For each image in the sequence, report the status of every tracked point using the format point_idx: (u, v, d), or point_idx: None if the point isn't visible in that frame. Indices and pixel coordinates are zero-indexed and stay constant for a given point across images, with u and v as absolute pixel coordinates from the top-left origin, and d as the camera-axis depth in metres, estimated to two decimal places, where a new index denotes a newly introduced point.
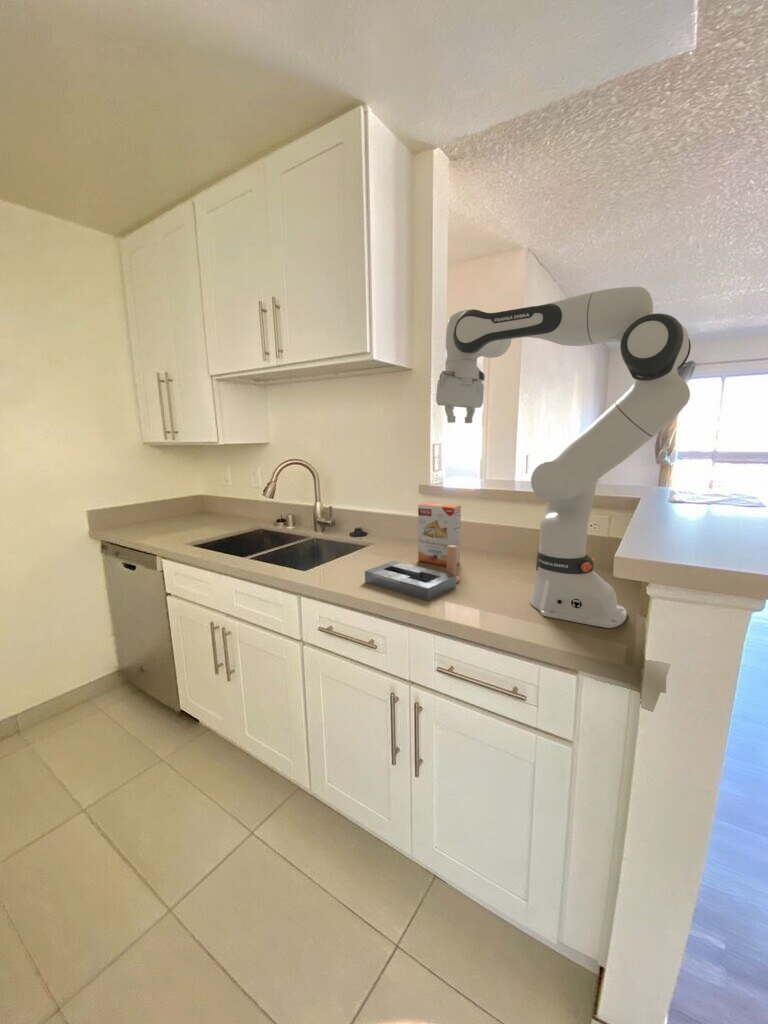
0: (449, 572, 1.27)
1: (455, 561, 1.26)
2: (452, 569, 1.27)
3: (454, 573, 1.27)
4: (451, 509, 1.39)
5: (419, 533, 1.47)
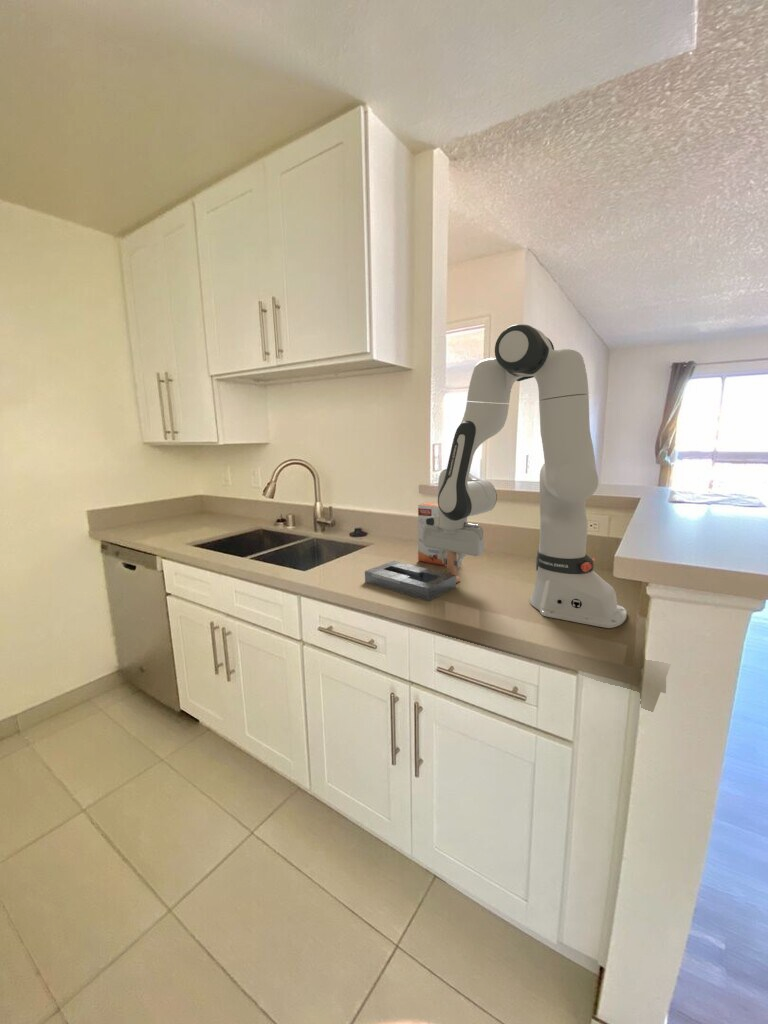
0: (449, 572, 1.27)
1: None
2: (452, 569, 1.27)
3: (454, 573, 1.27)
4: None
5: (419, 533, 1.47)
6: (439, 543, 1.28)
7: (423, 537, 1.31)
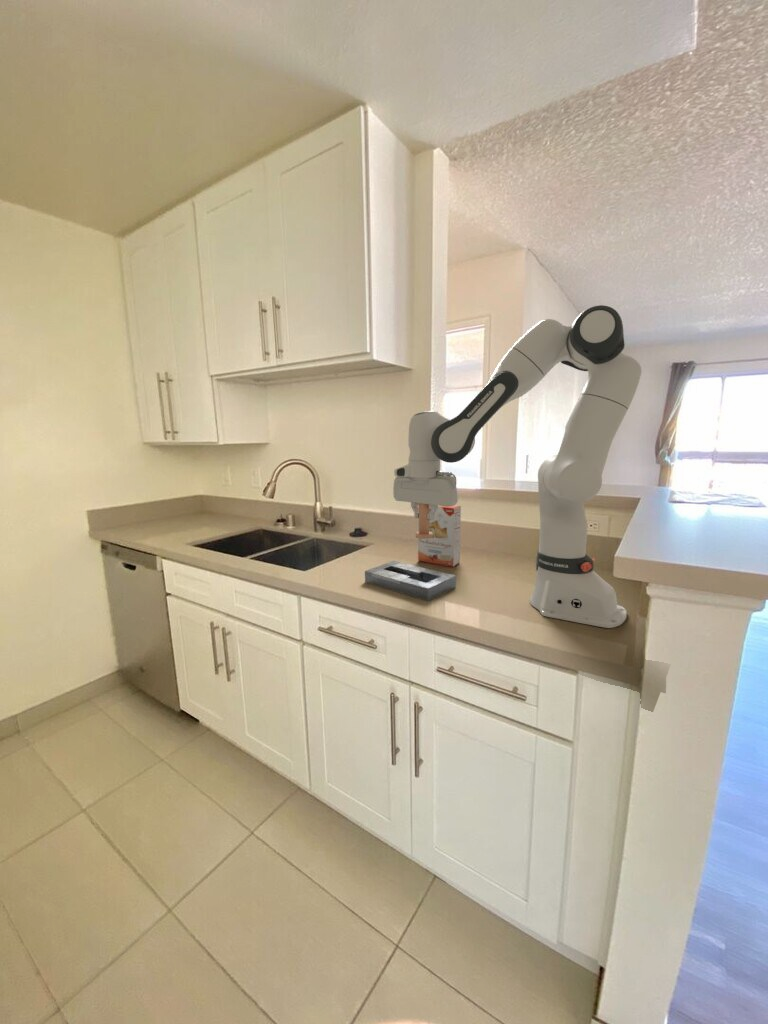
0: (421, 527, 1.18)
1: None
2: (425, 523, 1.17)
3: (426, 528, 1.18)
4: (451, 509, 1.39)
5: None
6: (410, 496, 1.18)
7: (394, 490, 1.22)
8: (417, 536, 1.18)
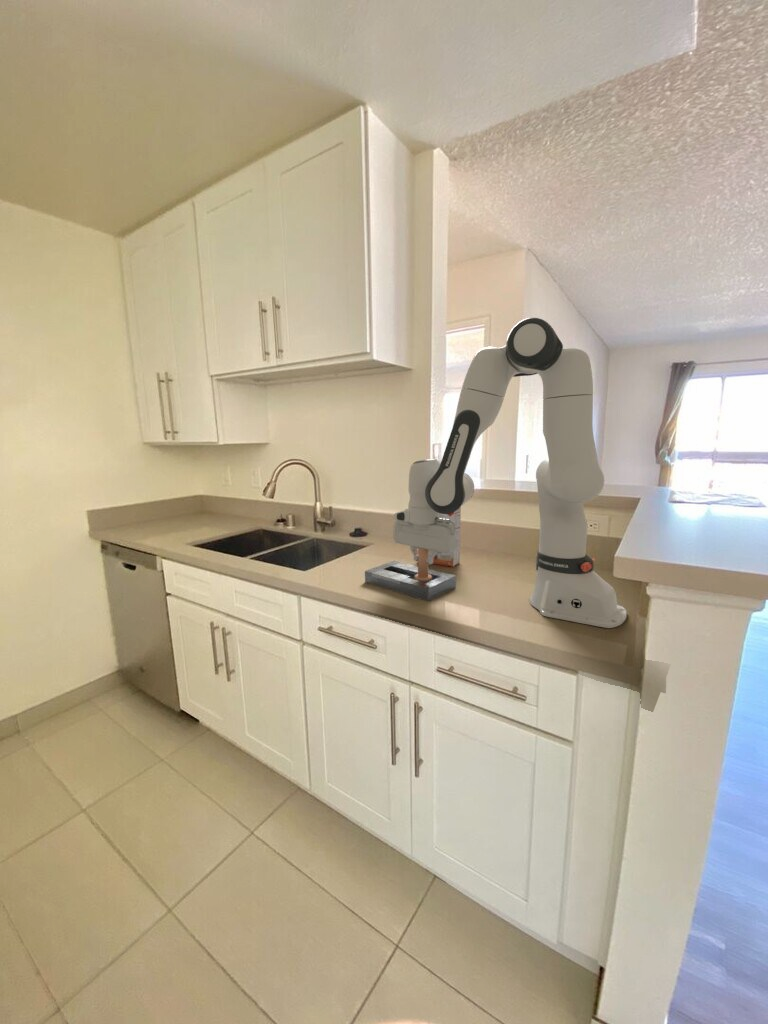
0: (420, 570, 1.20)
1: None
2: (424, 567, 1.20)
3: (425, 571, 1.20)
4: None
5: None
6: (410, 540, 1.21)
7: (394, 533, 1.24)
8: (416, 579, 1.20)
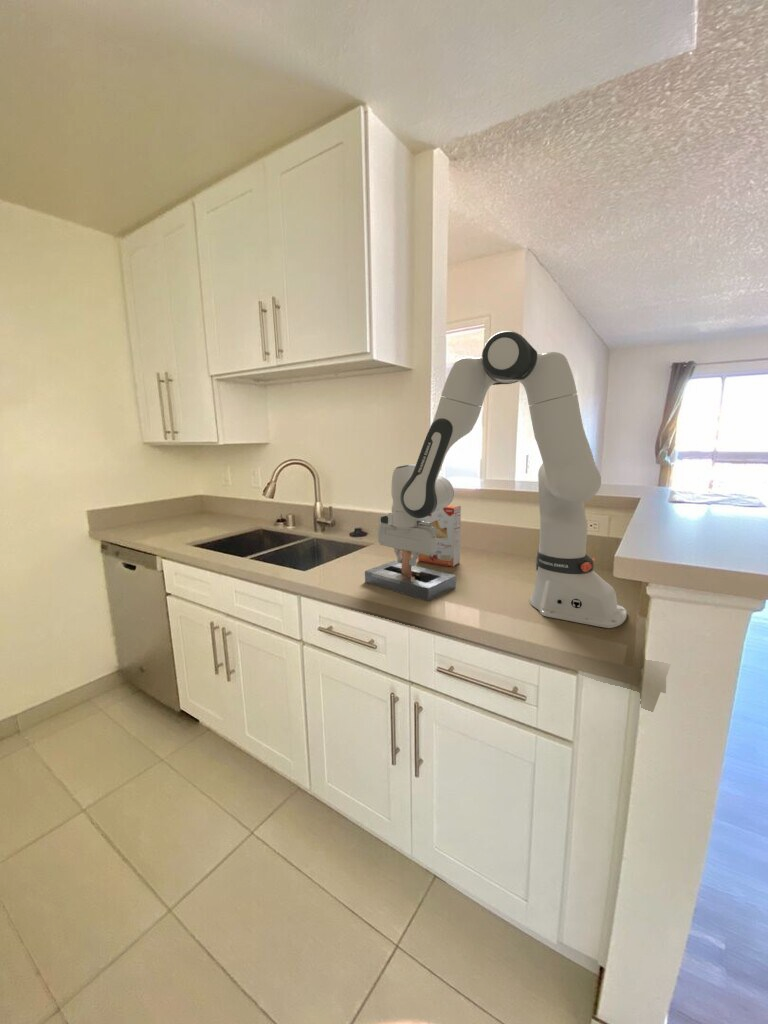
0: (403, 571, 1.24)
1: None
2: (407, 569, 1.24)
3: (408, 572, 1.24)
4: (451, 509, 1.39)
5: None
6: (393, 542, 1.25)
7: (379, 535, 1.28)
8: None
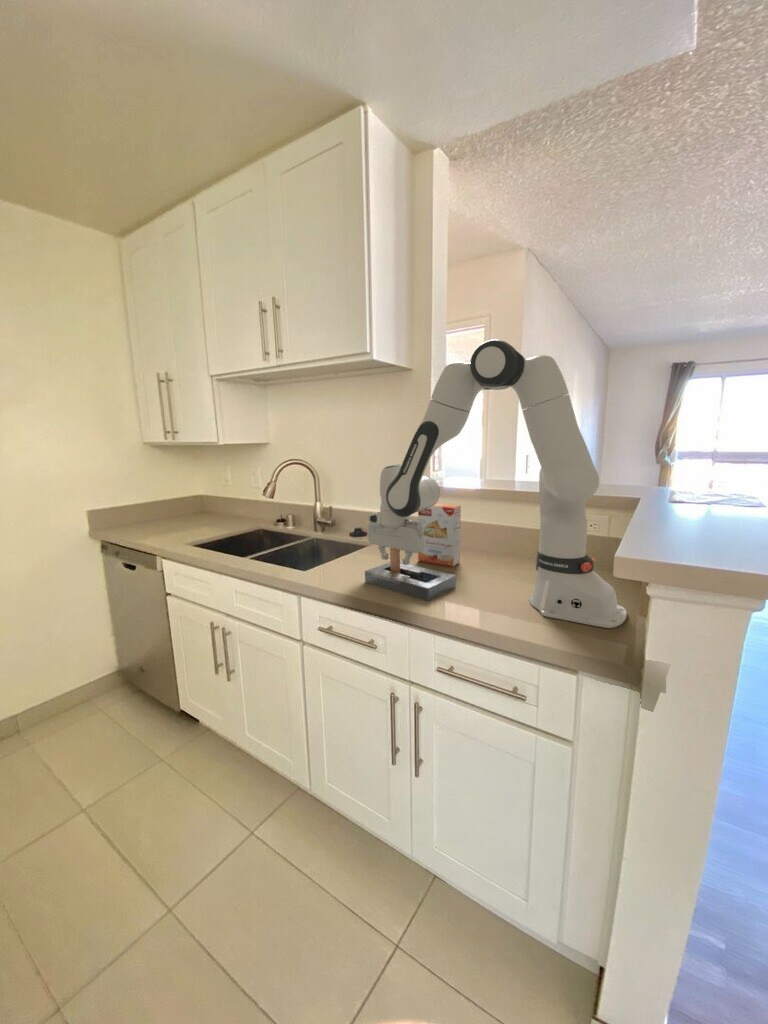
0: (392, 570, 1.28)
1: (398, 559, 1.27)
2: (395, 567, 1.27)
3: (397, 571, 1.27)
4: (451, 509, 1.39)
5: None
6: (382, 540, 1.28)
7: (368, 534, 1.32)
8: None
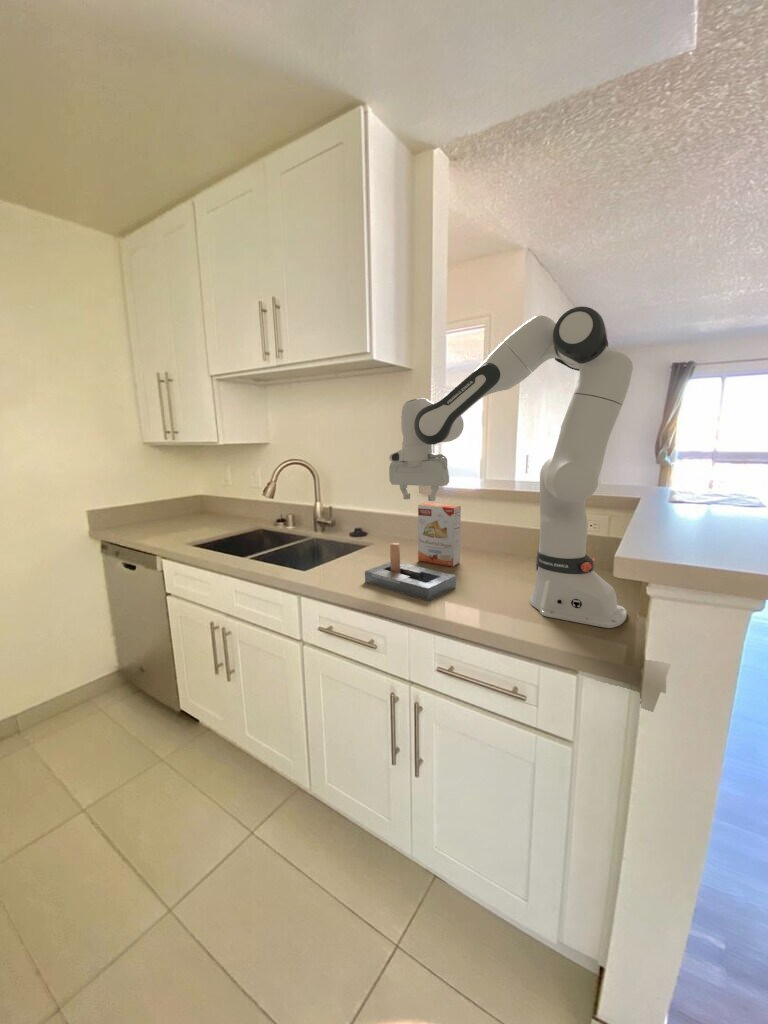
0: (392, 570, 1.28)
1: (398, 559, 1.27)
2: (395, 567, 1.27)
3: (397, 571, 1.27)
4: (451, 509, 1.39)
5: (419, 533, 1.47)
6: (405, 479, 1.27)
7: (390, 475, 1.30)
8: None
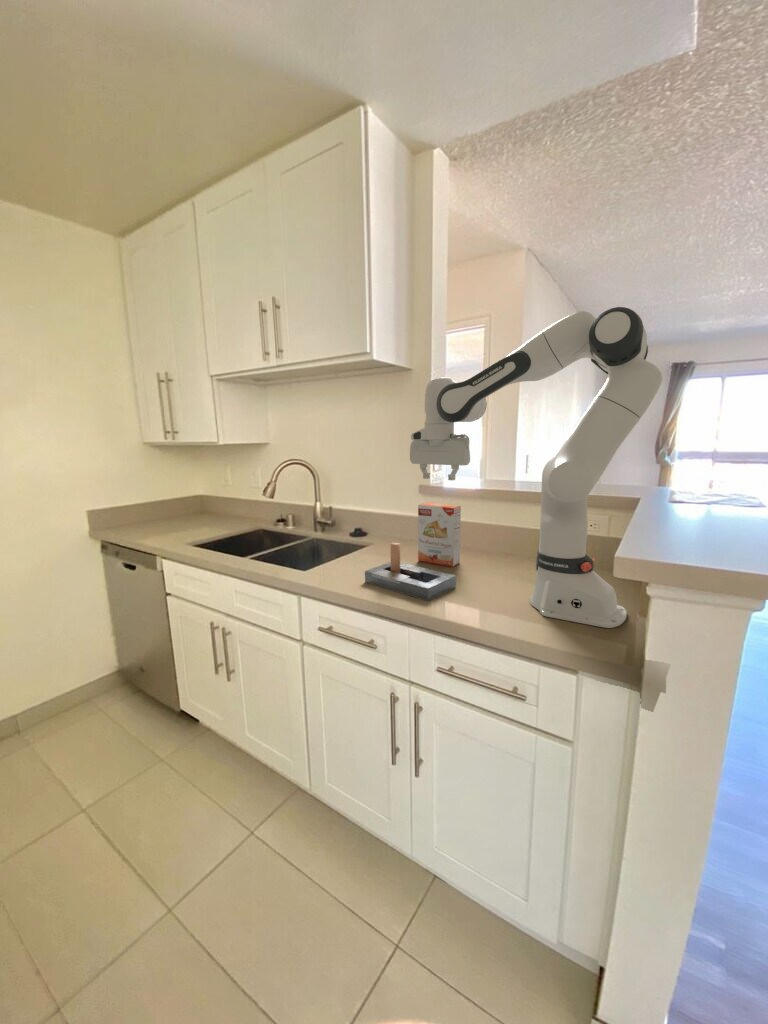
0: (392, 569, 1.28)
1: (398, 559, 1.27)
2: (395, 567, 1.27)
3: (397, 571, 1.27)
4: (451, 509, 1.39)
5: (419, 533, 1.47)
6: (426, 458, 1.28)
7: (410, 454, 1.31)
8: None
